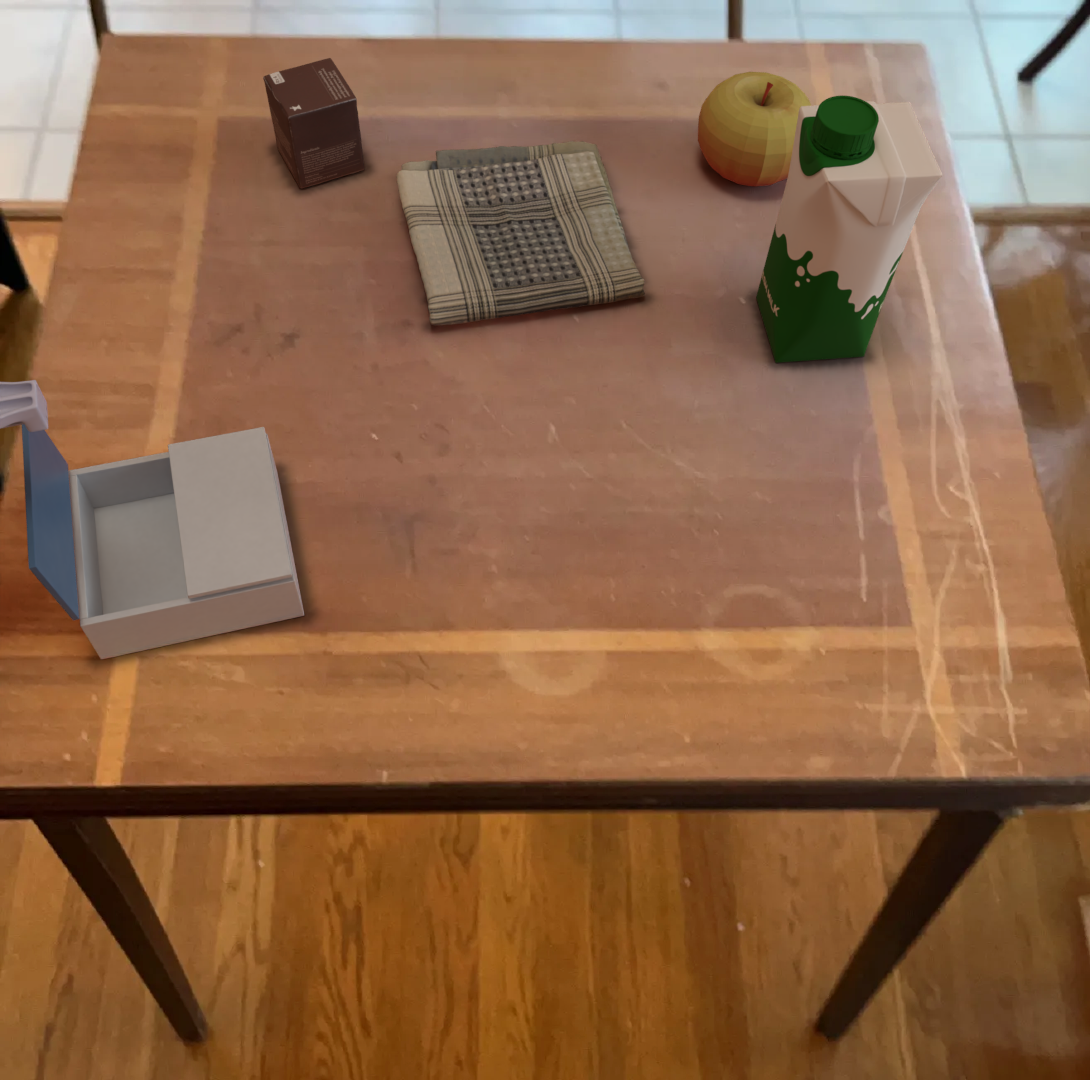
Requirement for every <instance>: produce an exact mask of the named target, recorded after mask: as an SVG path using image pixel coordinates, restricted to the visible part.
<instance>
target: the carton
mask: <svg viewBox="0 0 1090 1080" xmlns="http://www.w3.org/2000/svg"><path fill="white" fill-rule="evenodd" d="M167 449H168V450H167V451H165V452H164V451H163V452H160V453H154V454H148V455H144V456H139V457H132V458H127V459H122V460H117V461H112V462H105V463H100V464H96V465H90V466H84V467H80V468H74V469H68V471H69V485H70V498H71V512H72V525H73V539H74V552H75V566H76V579H77V593H78V606H79V626H80V629H81V630H82V631H83V633H84V635H85V636H86V638H87V639H88V641H89V643H90V644H91V646H92V647H93V649H94V651H95V652H96V654H97V656H98V657H99V659H100V660H105V659H110V658H115V657H119V656H123V655H124V656H125V655H129V654H133V653H138V652H143V651H147V650H151V649H157V648H160V647H166V646H170V645H175V644H179V643H185V642H189V641H194V640H198V639H203V638H208V637H211V636H216V635H221V634H226V633H230V632H235V631H240V630H245V629H249V628H254V627H258V626H259V627H260V626H263V625H268V624H272V623H276V622H281V621H286V620H291V619H295V618H300V617H304V616H305V611H304V605H303V601H302V595H301V591H300V584H299V579H298V574H297V568H296V565H295V564H296V563H295V558H294V553H293V547H292V542H291V537H290V531H289V527H288V521H287V516H286V510H285V505H284V500H283V494H282V489H281V484H280V478H279V473H278V469H277V466H276V461H275V458H274V454H273V451H272V446H271V442H270V439H269V435H268V433H267V432H266V428H265V427H264V426H261V427H255V428H249V429H244V430H238V431H233V432H227V433H222V434H218V435H212V436H206V437H202V438H196V439H191V440H185V441H179V442H174V443H169V444H167Z"/></svg>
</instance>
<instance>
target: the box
mask: <svg viewBox="0 0 1090 1080" xmlns="http://www.w3.org/2000/svg"><path fill="white" fill-rule="evenodd" d="M262 79H263V83H264V87H265V92H266V97H267V103H268V106H269V112H270V117H271V122H272V126H273V131H274V137H275V142H276V148H277V150H278V152H279V153H280V155H281V157H282V159H283V161H284V163H285V164H286V166H287V168H288V169H289V172H290V173H291V175H292V176H293V179H294V180H295V182H296V183H297V186H298V187H299V188H300V189H305V188H308V187H312V186H315V185H320V184H322V183H325V182H329V181H332V180H335V179H338V178H341V177H345V176H348V175H353V174H356V173H359V172H363V171H364V170H365V168H366V166H365V160H364V158H365V157H364V150H363V143H362V142H363V141H362V135H361V127H360V117H359V110H358V100H357V97H356V95H355V93H354V92H353V90H352V88H351V87H350V86H349V84H348V82H347V81H346V79H345V77H344V76H343V75H342V72H341V71H340V69H339V68H338V67H337V65H336V63H335V62H334V61H333V59H332V58H331V57H328V58H324V59H320V60H316V61H313V62H309V63H305V64H302V65H298V66H294V67H291V68H287V69H283V70H277V71H274V72H272V73H269V74H266V75H263V76H262Z"/></svg>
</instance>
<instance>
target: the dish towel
mask: <svg viewBox="0 0 1090 1080" xmlns="http://www.w3.org/2000/svg"><path fill="white" fill-rule="evenodd" d="M599 151H600V150H599V148H598V145H597V144H596V143H590V142H587V141H583V140H580V141H573V140H570V141H566V142H554V143H550V144H539V145H528V146H522V145H521V146H519V145H518V146H517V145H512V146H511V145H510V146H505V145H499V146H496V147H486V148H483V147H482V148H472V149H471V148H470V149H441V150H436V151H435V158H436V160H429V159H427V160H426V159H425V160H421V161H420V160H419V161H407V162H405V163H403V164H401V168H400V169H401V170H399V171H397V174H396V184H397V189H398V194H399V200H400V202H401V209H402V211H403V214H404V217H405V220H406V223H407V227H408V231H409V232H408V234H409V237H410V243H411V245H412V247H413V252H414V253H413V254H414V255H415V257H416V262H417V265H418V270H419V272H420V276H421V277H420V278H421V281H422V283H423V289H424V292H425V295H426V301H427V305H428V306H427V310H428V312H429V313H428V314H429V318H428V319H429V324H430V325H432V326H450V325H460V324H467V323H471V322H479V321H485V320H495V319H500V318H505V317H513V316H521V315H527V314H528V315H529V314H530V315H531V314H535V313H543V312H546V311H555V310H561V309H565V310H566V309H571V308H580V307H585V306H593V305H600V304H608V303H615V302H619V301H626V300H629V299H637V298H642V297H644V296H645V295H646V291H645V289H644V286H645V279H644V278H643V276H642V275H641V274H640V273H641V272H640V271H639V269H638V267H637V265H636V263H635V261H634V258H633V256H632V253H631V250H630V247H629V243H628V240H627V237H626V233H625V229H624V227H623V224H622V220H621V218H620V214H619V211H618V208H617V204H616V201H615V198H614V194H613V190H612V188H611V187H612V186H611V185H610V180H609V178H608V173H607V171H606V168H605V165H604V163H603V161H602V157H601V155H600V152H599Z"/></svg>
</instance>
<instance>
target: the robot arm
mask: <svg viewBox="0 0 1090 1080" xmlns="http://www.w3.org/2000/svg"><path fill="white" fill-rule="evenodd" d="M48 410H49V409H48V402H47V400H46V397H45V396H44V393H43V392H42V390H41V388H40V386H39V384H38V381H37V380H36V379H32V380H22V381H0V429H6V428H10V427H17V426H22V425H23V424H25V426H26V428H27V430H28V431H30V432H35V431H41V430H45V431H47V430H48V429H49V411H48Z"/></svg>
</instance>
